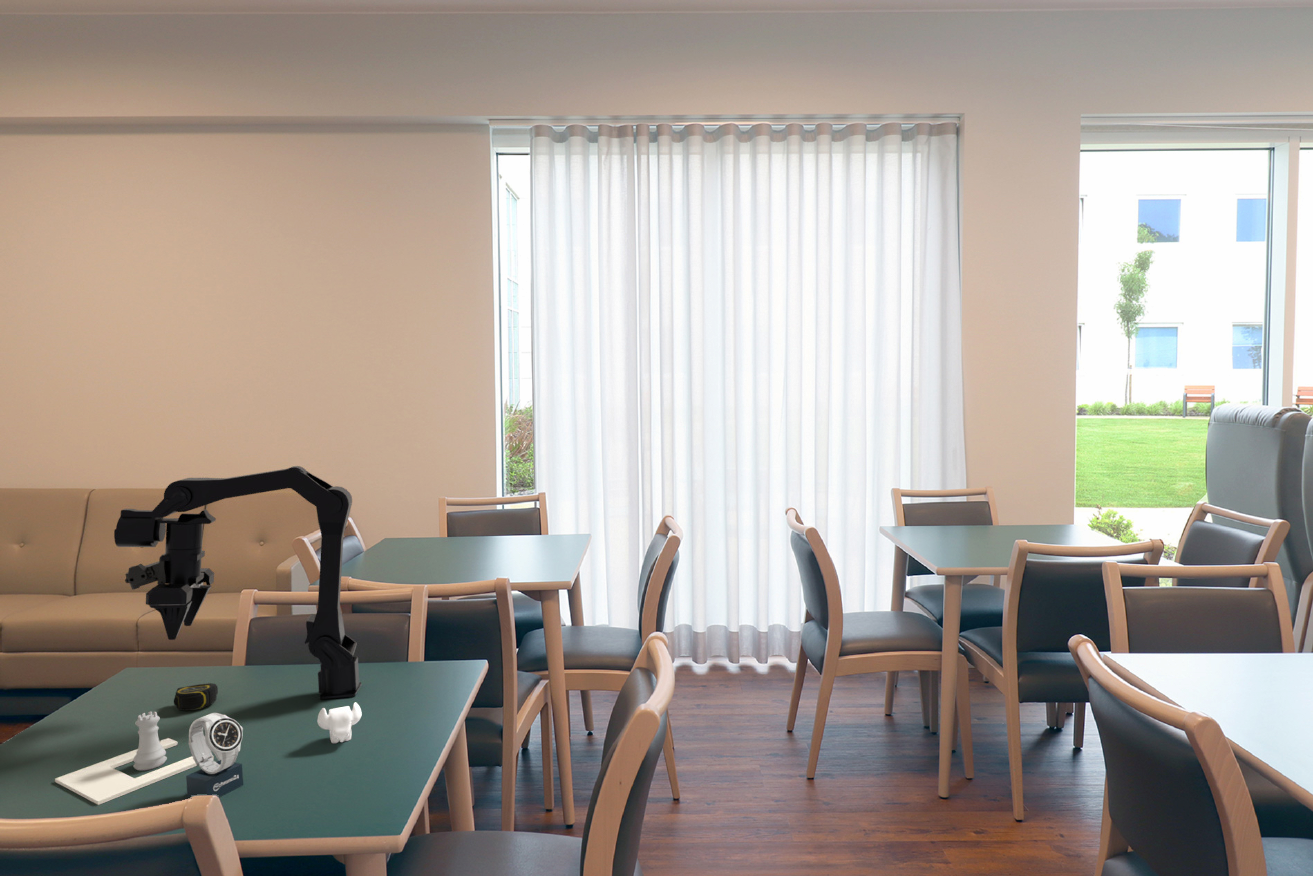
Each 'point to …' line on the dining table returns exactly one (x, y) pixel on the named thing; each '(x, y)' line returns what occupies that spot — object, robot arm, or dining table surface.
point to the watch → (225, 745)
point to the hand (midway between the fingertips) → (180, 632)
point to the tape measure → (195, 696)
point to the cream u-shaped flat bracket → (118, 776)
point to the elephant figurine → (339, 721)
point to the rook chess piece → (148, 743)
